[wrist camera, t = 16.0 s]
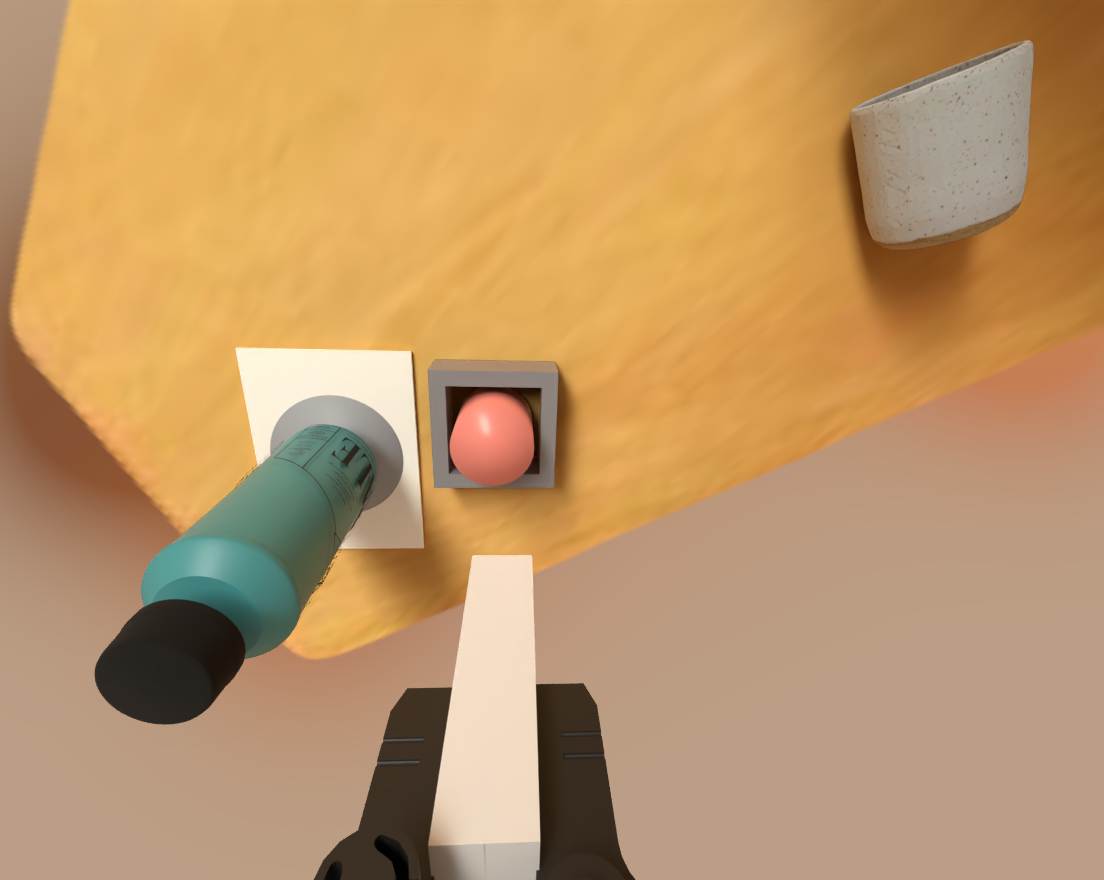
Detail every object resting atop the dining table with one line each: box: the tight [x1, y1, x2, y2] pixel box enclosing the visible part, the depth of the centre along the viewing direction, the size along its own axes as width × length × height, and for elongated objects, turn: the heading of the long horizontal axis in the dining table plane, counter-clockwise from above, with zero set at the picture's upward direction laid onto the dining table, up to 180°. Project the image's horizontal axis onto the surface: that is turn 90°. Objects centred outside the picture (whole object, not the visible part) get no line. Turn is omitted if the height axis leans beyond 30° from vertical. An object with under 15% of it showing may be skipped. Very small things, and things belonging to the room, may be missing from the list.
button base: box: [428, 359, 558, 488], centre depth 34 cm, size 8×8×3 cm
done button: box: [450, 387, 534, 486], centre depth 33 cm, size 5×5×5 cm
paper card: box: [236, 348, 424, 549], centre depth 36 cm, size 15×11×1 cm
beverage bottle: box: [95, 424, 378, 724], centre depth 26 cm, size 6×7×20 cm
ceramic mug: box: [850, 40, 1034, 250], centre depth 28 cm, size 11×8×8 cm
